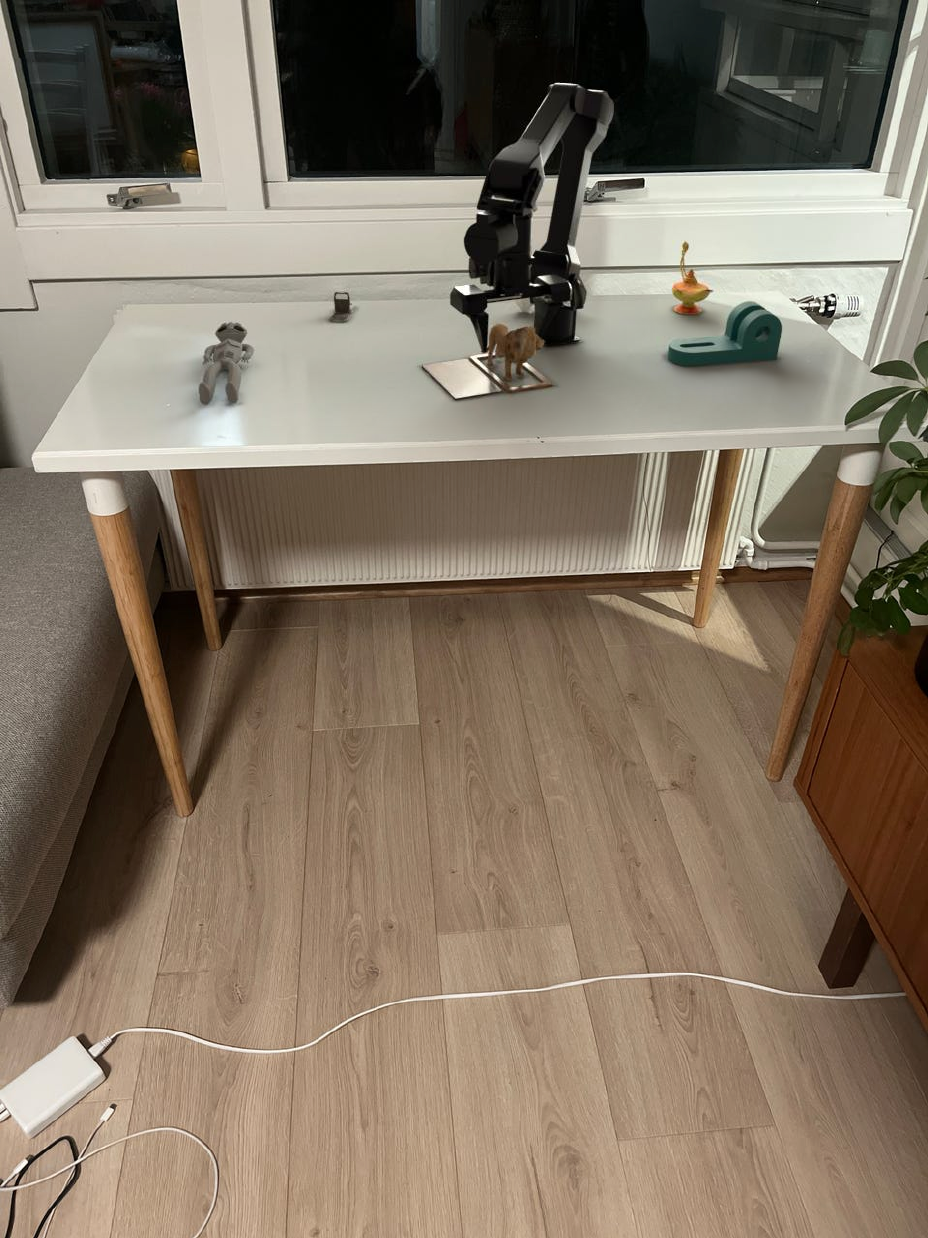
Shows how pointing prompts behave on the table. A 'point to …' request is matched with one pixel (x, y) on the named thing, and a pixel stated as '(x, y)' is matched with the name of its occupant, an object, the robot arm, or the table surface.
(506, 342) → the lion figurine
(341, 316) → the strap clip
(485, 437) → the table surface
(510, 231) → the robot arm
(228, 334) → the alien figure
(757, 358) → the bracket
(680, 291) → the magic lamp
